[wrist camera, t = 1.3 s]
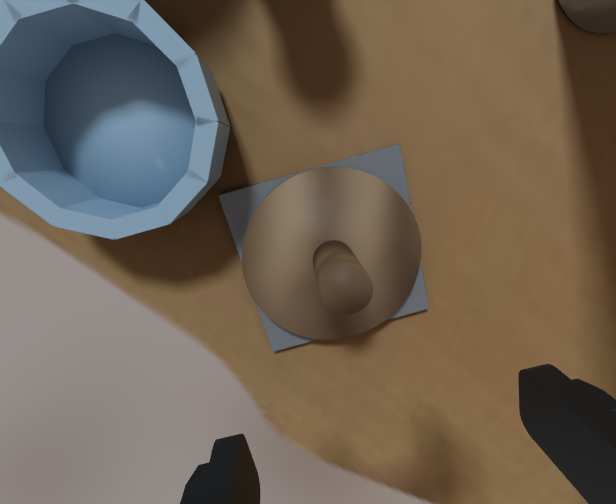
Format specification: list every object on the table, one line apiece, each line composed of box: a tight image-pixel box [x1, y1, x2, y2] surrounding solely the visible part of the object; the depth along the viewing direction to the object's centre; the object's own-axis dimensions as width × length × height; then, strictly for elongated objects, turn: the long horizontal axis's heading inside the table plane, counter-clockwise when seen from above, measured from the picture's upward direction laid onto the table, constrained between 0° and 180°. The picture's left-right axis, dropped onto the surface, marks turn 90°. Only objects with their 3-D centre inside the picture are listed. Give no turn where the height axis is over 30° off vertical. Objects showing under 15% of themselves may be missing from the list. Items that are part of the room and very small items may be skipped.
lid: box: [242, 167, 421, 340], centre depth 23 cm, size 14×14×7 cm
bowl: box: [0, 0, 230, 240], centre depth 21 cm, size 13×13×6 cm
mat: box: [218, 144, 429, 352], centre depth 27 cm, size 14×14×1 cm
